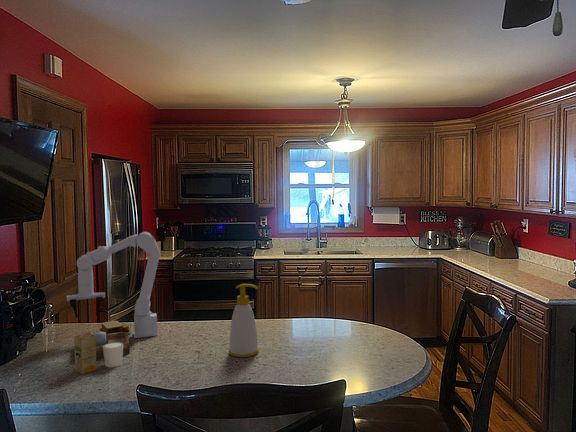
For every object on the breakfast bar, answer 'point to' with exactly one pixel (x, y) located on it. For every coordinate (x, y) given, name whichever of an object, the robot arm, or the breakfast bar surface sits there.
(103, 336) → the peg
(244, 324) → the soap bottle
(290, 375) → the breakfast bar surface
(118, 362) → the white cup
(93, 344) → the shoe polish box
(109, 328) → the toy sandwich meal
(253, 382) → the breakfast bar surface
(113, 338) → the box with square hole
